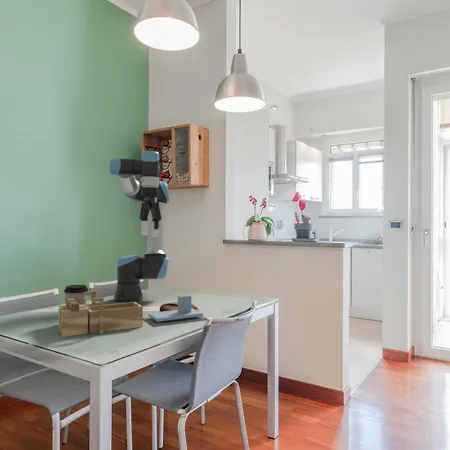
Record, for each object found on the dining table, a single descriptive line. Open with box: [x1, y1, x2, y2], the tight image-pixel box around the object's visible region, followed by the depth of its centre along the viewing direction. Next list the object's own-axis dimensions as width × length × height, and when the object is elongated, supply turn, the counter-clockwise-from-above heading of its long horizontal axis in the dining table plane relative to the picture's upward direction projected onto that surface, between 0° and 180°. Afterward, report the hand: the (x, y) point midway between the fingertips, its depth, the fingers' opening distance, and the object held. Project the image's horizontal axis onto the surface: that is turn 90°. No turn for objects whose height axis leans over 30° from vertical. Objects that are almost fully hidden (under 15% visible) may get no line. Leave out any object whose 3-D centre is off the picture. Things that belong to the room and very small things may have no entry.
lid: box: [147, 294, 204, 323], centre depth 168 cm, size 11×21×9 cm, turn 120°
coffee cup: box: [63, 284, 90, 306], centre depth 160 cm, size 9×9×15 cm
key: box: [65, 297, 79, 312], centre depth 147 cm, size 16×2×2 cm, turn 29°
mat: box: [143, 315, 208, 327], centre depth 168 cm, size 14×24×1 cm, turn 119°
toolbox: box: [58, 291, 144, 338], centre depth 153 cm, size 15×30×13 cm, turn 119°
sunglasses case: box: [159, 301, 199, 312], centre depth 182 cm, size 18×7×7 cm
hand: (149, 236), depth 172 cm, fingers open, 13 cm apart
